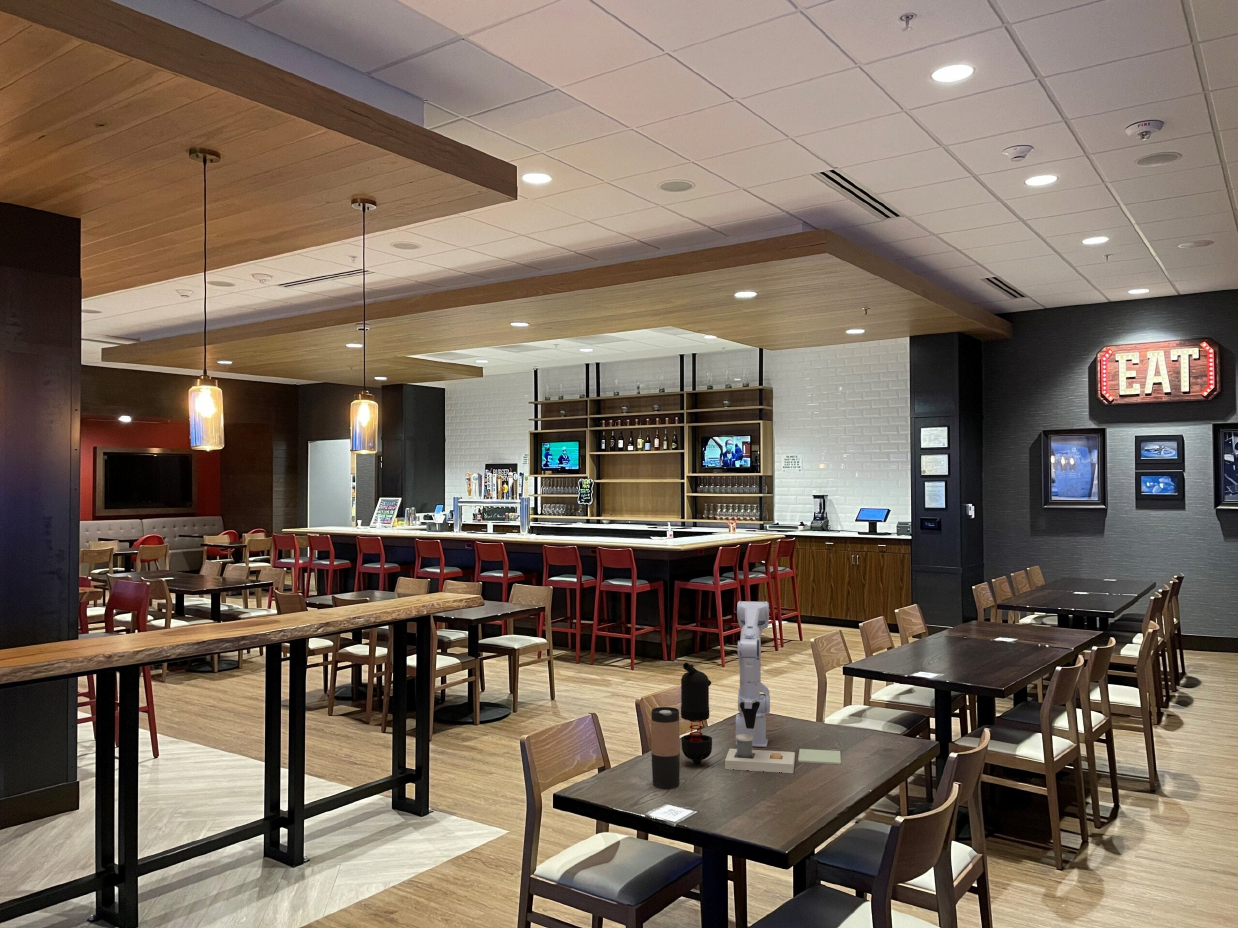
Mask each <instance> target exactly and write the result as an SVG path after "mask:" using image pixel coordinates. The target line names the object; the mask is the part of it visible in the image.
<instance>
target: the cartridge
mask: <svg viewBox="0 0 1238 928" xmlns="http://www.w3.org/2000/svg"><path fill="white" fill-rule="evenodd" d="M736 739H737V745H736V749H737V758H751V759H752V750H753V746H752V740H753V736H752V735H749V734H739V735H736V738H735V740H736Z"/></svg>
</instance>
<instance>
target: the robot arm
mask: <svg viewBox="0 0 1238 928" xmlns="http://www.w3.org/2000/svg"><path fill="white" fill-rule="evenodd" d="M769 605H770V603H769V602H768V601H742V600H739V601H738V602H737V607H736V616H737V617H736V618H737V622H738V626H739V627H740V628H741V629H740V638H739V639H740V640H737V656H738V657H737V658H738V665H739V688H738V693H737V694H738V695H737V711H738V712H739V713H736V714H735V735H734V736H735V746H737V739H736V735H739V734H749V735H752V736H753V740H752V747H755V748H756V747H760V748H762V747H763V748H767V747H768V743H769V739H768V738H767V720H766V719H767V715H769V714H770V713H771V696H770V695H771V694H770V689H769V688H768V687H767V686H766V685H765V684H763V682H761V680H762V679H761V678H762V677H761V666H762V665H761V664H762V663H761V661H762V659H761V656H762V644H761V643H762V641H761V638H762V633H763V630H765V629H768V627H769V625H770V622H769V621H770V606H769Z"/></svg>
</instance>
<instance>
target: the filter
mask: <svg viewBox="0 0 1238 928" xmlns="http://www.w3.org/2000/svg"><path fill="white" fill-rule="evenodd" d="M682 667H683V670H684V671H686V672H684V674H683V675H682V676H681V678H680V684H681V685H680V692H681V695H680V701H681V702H680V703H681V704H680V717H681V719H683V720H685V721H688V722H691V725H689V728H690V730H691V731H690V732H689V734H685V735H683V736H681V738H680V739H681V750H682V753H683V756H685V758H687V759H689V760H691V762H692V765H693V766H701V765H702V761H703V760H706V759H707V758H708V757H709V756H710V755H711V754H712V752H713V751H712V750H713V737H712V736H709V735H706V734H703V733H702V732H701V729H703V726H702V725H701V724H694V725H693V723H701V722H703V721H706V720H709V718H710V700H709V699H710V687H711V685H712V681H711V680H710V679H709V677H708V675H707V674H706V673H704V672H703V671H701V670H698V669H697V668H695V666H694V664H692V663H691V664H690V663H688V662H684V663H683V665H682ZM693 730H699V731H693Z"/></svg>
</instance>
